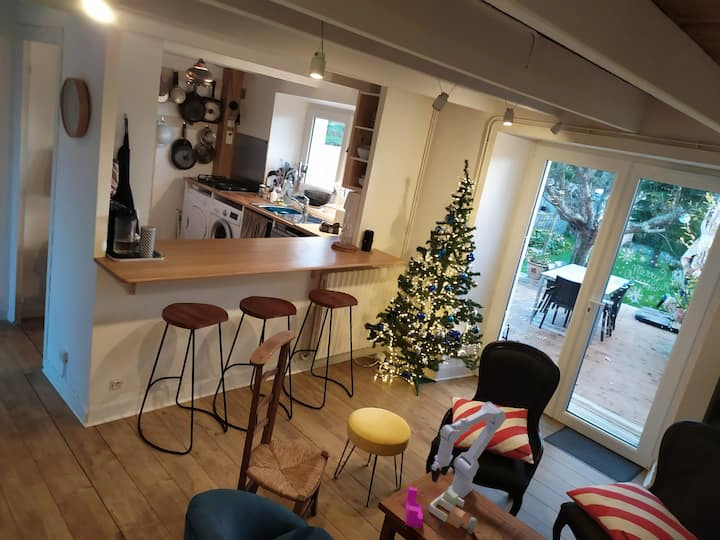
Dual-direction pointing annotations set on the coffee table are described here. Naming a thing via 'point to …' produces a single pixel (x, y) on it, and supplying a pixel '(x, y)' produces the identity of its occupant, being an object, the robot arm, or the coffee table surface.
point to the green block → (451, 497)
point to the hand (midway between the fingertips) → (438, 478)
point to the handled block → (461, 520)
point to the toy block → (413, 509)
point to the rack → (444, 504)
